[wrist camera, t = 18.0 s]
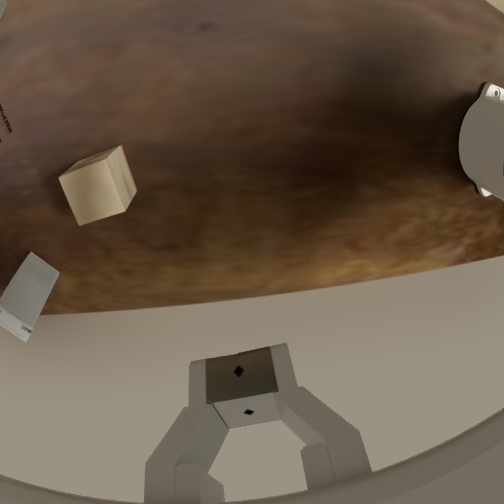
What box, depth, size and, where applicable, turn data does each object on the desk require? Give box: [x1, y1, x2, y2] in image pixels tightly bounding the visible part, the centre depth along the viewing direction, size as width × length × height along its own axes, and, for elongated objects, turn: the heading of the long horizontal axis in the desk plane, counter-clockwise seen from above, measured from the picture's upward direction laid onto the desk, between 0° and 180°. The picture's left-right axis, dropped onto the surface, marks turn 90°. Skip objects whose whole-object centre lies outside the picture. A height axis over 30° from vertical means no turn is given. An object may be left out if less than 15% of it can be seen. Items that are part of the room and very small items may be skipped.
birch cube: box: [59, 145, 137, 226], centre depth 31 cm, size 6×6×6 cm
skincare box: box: [0, 252, 60, 342], centre depth 35 cm, size 6×4×12 cm
